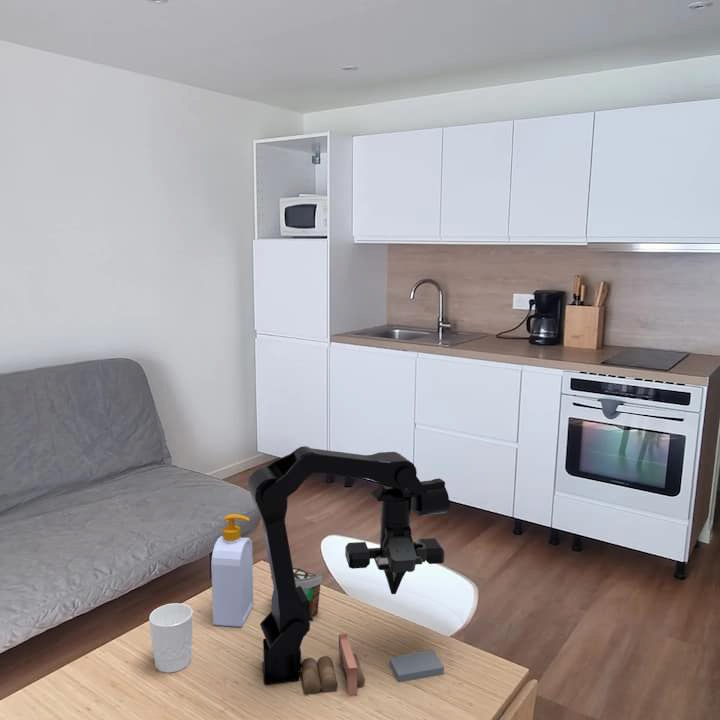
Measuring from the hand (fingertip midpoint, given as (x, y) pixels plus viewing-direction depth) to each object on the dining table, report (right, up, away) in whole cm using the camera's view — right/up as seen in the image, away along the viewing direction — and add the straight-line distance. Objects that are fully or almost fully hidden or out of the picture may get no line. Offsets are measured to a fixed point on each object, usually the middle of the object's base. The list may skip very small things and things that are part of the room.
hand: (393, 593), depth 128 cm
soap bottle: (-34, -10, +13) cm, 37 cm away
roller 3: (-8, -10, -8) cm, 15 cm away
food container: (-21, -10, +13) cm, 27 cm away
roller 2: (-14, -11, -9) cm, 20 cm away
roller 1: (-16, -13, -9) cm, 23 cm away
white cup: (-42, -12, -3) cm, 44 cm away
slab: (+4, -13, -5) cm, 15 cm away
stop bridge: (-9, -13, -7) cm, 17 cm away
